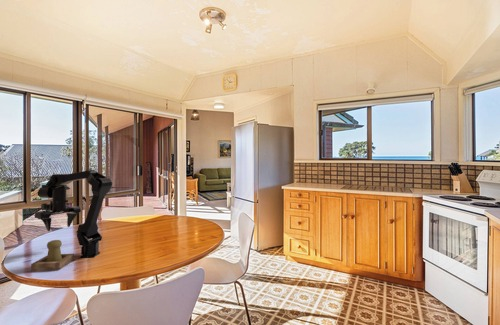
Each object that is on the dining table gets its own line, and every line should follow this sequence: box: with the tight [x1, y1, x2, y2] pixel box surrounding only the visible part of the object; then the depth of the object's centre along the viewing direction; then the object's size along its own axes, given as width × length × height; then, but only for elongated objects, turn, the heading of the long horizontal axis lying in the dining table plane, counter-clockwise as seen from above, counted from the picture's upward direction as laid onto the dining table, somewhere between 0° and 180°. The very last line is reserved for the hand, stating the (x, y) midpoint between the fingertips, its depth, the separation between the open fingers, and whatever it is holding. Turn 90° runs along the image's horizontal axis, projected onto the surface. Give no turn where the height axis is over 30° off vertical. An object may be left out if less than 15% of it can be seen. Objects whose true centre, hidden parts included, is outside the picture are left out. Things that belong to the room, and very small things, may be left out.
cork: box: [46, 239, 62, 262], centre depth 110 cm, size 6×6×11 cm
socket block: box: [30, 253, 75, 272], centre depth 110 cm, size 11×11×3 cm
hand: (58, 228), depth 126 cm, fingers open, 9 cm apart
